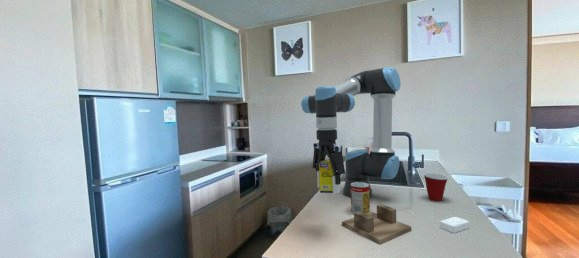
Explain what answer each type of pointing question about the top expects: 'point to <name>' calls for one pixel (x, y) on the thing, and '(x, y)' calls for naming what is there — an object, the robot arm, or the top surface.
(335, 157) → the robot arm
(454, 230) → the soap
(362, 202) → the canned food
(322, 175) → the supplement box
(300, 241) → the top surface
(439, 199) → the plastic cup
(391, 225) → the slotted stand
